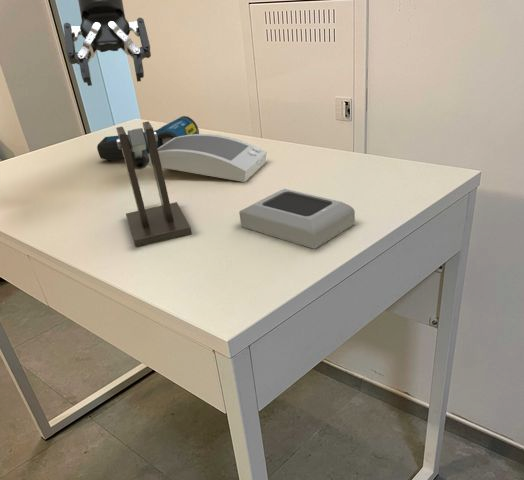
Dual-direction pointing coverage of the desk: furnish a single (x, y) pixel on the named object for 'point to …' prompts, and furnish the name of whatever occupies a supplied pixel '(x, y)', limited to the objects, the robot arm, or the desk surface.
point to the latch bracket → (168, 214)
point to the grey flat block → (298, 217)
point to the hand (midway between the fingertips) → (114, 81)
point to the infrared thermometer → (166, 133)
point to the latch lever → (138, 148)
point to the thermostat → (212, 156)
